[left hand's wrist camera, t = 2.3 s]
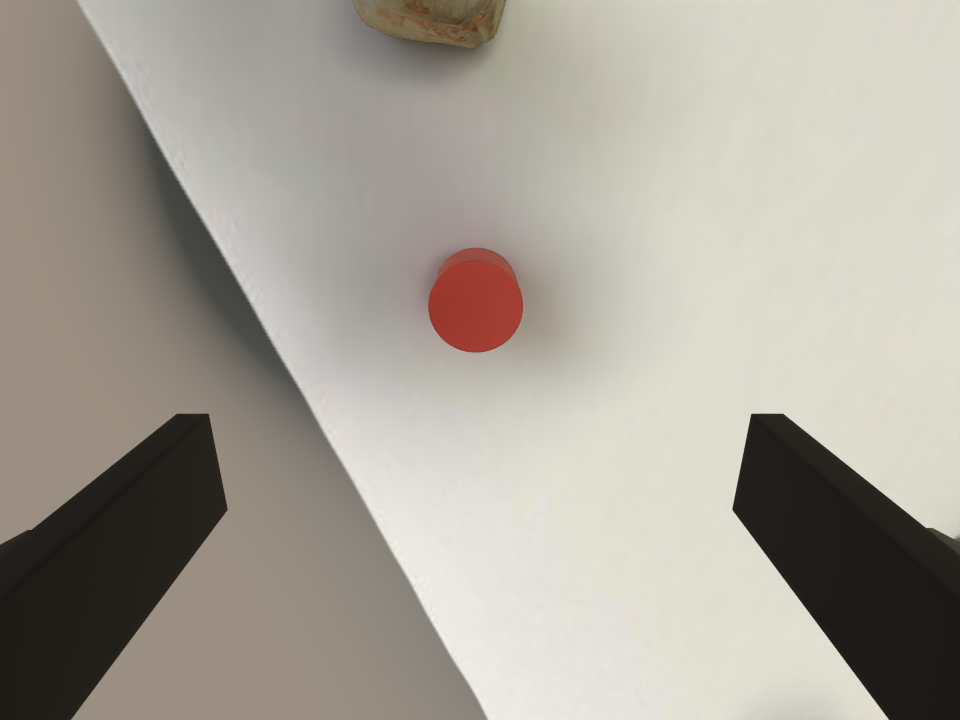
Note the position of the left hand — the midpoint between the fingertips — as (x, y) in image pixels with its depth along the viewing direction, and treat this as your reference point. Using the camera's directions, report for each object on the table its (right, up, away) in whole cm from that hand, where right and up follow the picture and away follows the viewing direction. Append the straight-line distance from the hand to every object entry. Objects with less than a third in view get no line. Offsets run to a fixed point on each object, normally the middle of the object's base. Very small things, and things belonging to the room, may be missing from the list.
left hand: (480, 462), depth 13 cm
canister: (0, +7, +19) cm, 20 cm away
